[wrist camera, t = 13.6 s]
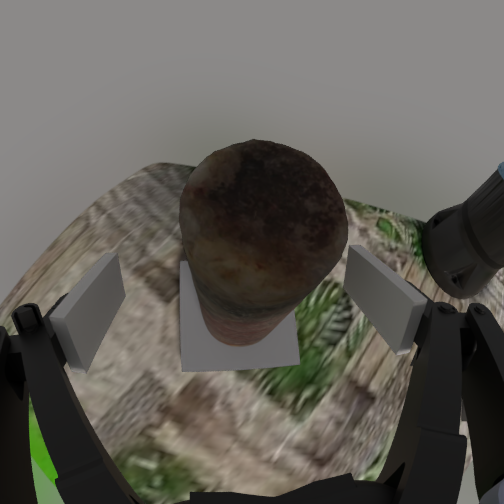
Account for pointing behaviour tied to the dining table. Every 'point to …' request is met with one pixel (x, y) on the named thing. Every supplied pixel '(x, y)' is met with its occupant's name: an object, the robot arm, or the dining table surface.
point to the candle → (258, 236)
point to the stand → (224, 356)
